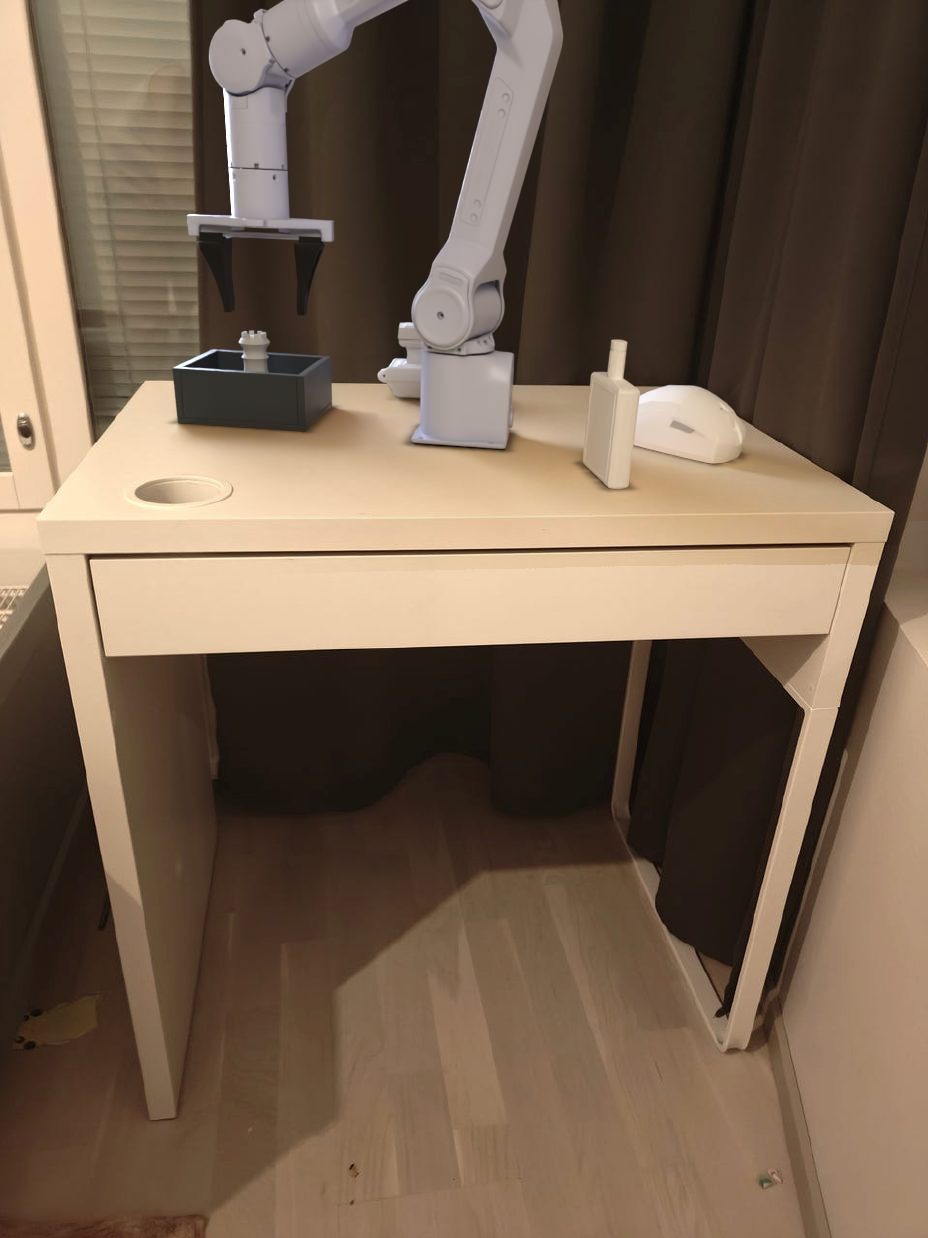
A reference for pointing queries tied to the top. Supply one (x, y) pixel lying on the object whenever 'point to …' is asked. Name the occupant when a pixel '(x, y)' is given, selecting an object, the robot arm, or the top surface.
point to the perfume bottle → (611, 421)
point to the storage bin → (253, 391)
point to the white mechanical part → (405, 365)
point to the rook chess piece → (254, 351)
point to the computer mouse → (689, 424)
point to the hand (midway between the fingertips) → (265, 312)
